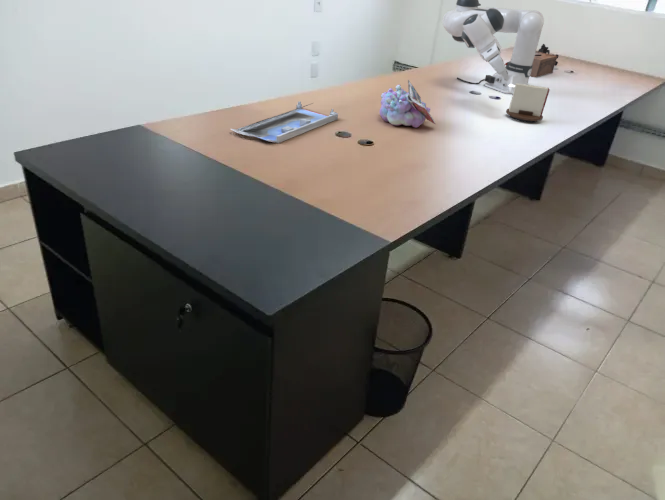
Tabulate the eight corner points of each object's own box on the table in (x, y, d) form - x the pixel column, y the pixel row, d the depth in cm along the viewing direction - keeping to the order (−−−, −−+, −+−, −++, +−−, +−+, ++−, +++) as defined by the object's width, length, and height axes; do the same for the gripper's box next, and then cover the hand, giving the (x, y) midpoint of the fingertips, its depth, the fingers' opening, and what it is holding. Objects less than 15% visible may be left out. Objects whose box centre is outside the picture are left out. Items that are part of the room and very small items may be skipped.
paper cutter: (337, 119, 218) (339, 105, 215) (267, 147, 184) (268, 131, 181) (300, 108, 225) (301, 94, 222) (226, 133, 191) (226, 117, 188)
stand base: (504, 116, 246) (505, 113, 245) (517, 112, 254) (518, 110, 253) (529, 124, 239) (529, 121, 239) (541, 120, 247) (542, 117, 246)
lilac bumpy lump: (373, 99, 230) (382, 67, 214) (423, 100, 233) (435, 69, 217) (380, 138, 221) (389, 108, 205) (431, 139, 224) (445, 109, 208)
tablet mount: (517, 66, 385) (518, 47, 371) (526, 52, 389) (527, 33, 375) (556, 75, 372) (558, 56, 359) (564, 60, 376) (567, 41, 363)
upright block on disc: (507, 117, 240) (515, 87, 233) (504, 107, 254) (512, 79, 247) (544, 123, 238) (554, 93, 231) (540, 113, 252) (548, 84, 245)
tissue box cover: (530, 67, 351) (535, 51, 346) (552, 72, 343) (557, 56, 338) (513, 71, 333) (517, 54, 328) (535, 77, 326) (540, 59, 321)
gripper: (482, 50, 246) (499, 76, 250) (484, 59, 228) (502, 86, 232) (495, 41, 243) (511, 67, 247) (498, 49, 226) (515, 77, 229)
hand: (507, 77), depth 239 cm, fingers open, 8 cm apart
